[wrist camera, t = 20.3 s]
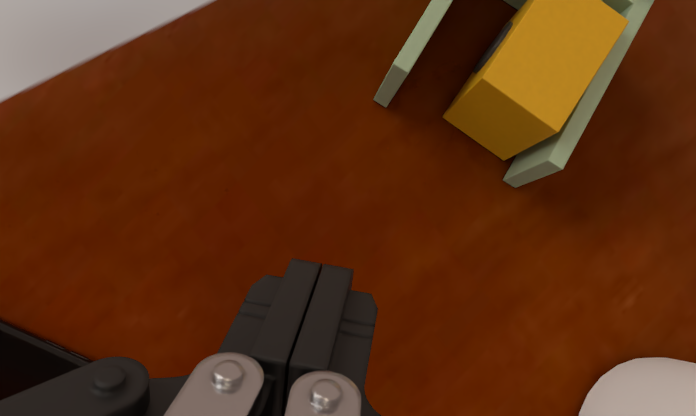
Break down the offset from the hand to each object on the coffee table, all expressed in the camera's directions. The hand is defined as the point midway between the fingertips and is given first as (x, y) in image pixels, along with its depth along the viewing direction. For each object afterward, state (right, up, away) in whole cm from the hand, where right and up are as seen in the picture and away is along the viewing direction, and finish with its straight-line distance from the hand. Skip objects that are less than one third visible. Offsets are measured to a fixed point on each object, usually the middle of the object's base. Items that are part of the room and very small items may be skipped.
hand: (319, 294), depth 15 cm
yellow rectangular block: (+10, +9, +22) cm, 25 cm away
